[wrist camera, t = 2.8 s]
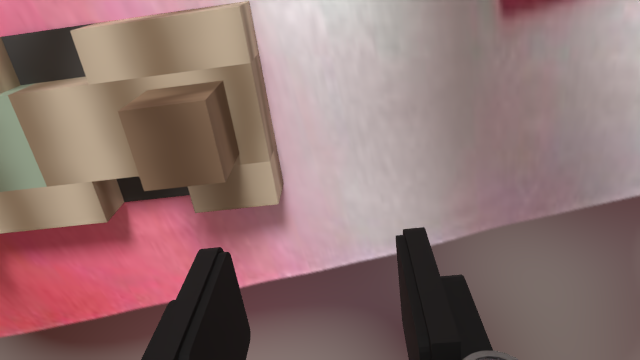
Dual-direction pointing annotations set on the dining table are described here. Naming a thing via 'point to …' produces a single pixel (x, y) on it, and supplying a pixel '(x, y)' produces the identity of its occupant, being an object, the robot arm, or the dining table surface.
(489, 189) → the dining table surface
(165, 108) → the walnut block
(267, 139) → the track
